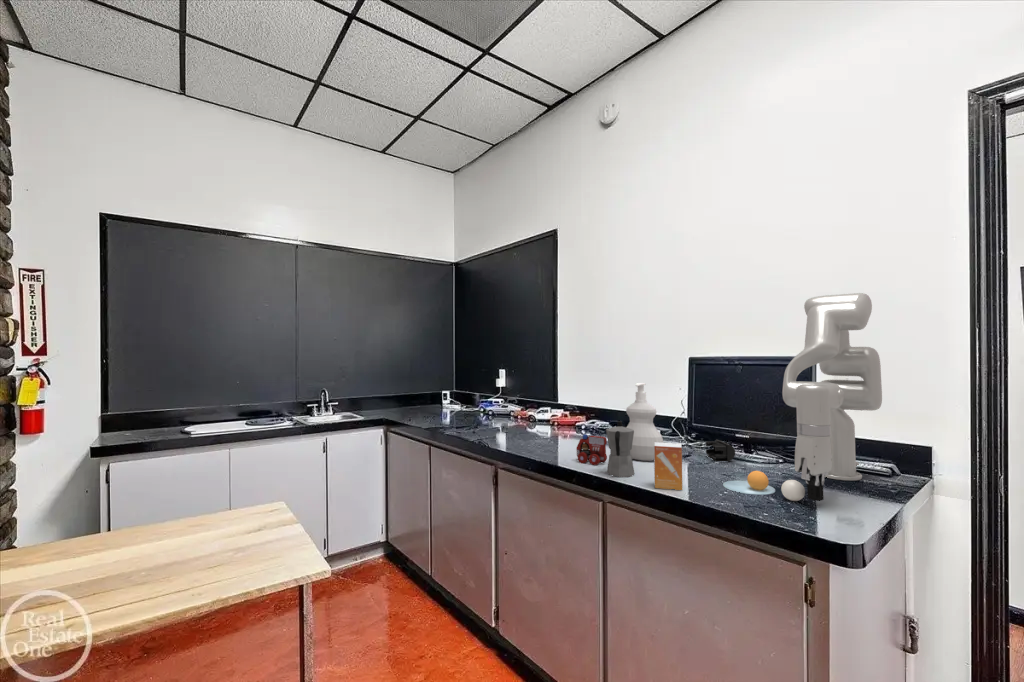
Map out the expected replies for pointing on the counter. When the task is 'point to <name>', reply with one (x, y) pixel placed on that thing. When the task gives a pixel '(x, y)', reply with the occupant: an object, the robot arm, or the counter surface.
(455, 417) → the counter surface
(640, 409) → the soap bottle
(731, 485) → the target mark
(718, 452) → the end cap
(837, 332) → the robot arm
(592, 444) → the toy fire truck
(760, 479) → the object ball
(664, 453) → the small box
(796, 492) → the white egg
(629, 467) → the coffeepot
